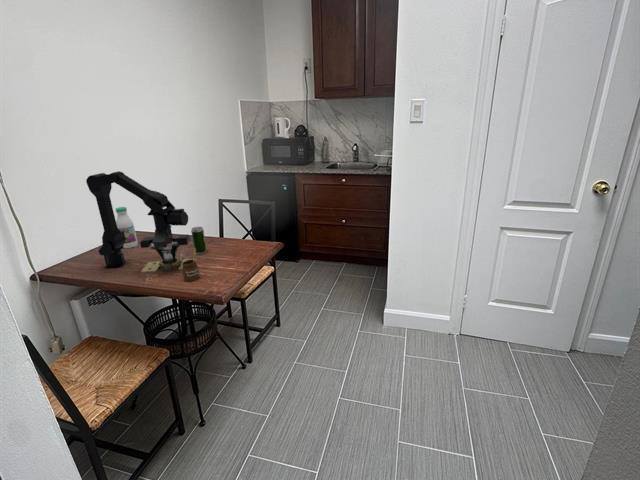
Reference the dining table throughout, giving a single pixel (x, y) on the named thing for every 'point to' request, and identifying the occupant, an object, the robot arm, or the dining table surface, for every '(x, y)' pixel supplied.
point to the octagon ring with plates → (164, 265)
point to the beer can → (199, 240)
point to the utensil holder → (190, 269)
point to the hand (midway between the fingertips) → (169, 259)
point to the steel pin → (168, 255)
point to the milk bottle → (126, 227)
